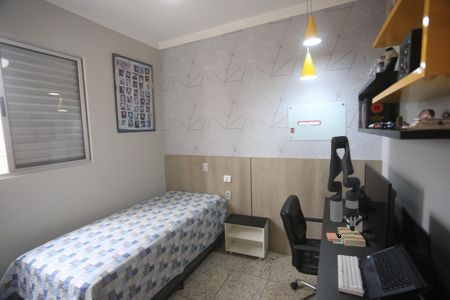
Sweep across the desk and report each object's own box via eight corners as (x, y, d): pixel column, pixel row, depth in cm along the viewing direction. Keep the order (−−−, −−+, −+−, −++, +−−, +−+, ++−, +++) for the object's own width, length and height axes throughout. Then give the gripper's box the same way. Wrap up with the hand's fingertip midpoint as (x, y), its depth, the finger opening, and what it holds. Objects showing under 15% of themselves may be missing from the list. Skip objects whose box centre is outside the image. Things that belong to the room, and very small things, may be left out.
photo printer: (360, 230, 168) (360, 214, 168) (363, 232, 164) (363, 216, 163) (346, 230, 170) (345, 214, 169) (348, 232, 166) (347, 216, 165)
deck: (337, 232, 167) (337, 227, 167) (355, 233, 164) (355, 227, 164) (344, 245, 148) (344, 239, 148) (365, 246, 145) (365, 240, 145)
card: (335, 233, 161) (335, 235, 161) (326, 232, 163) (326, 235, 163) (338, 238, 153) (338, 241, 153) (328, 238, 154) (329, 241, 154)
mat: (329, 234, 165) (329, 233, 165) (338, 234, 163) (338, 234, 163) (333, 243, 152) (333, 243, 152) (343, 244, 150) (343, 243, 150)
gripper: (360, 204, 155) (361, 229, 157) (339, 204, 159) (340, 228, 160) (364, 208, 148) (365, 233, 149) (342, 207, 151) (343, 232, 153)
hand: (352, 230), depth 155 cm, fingers closed
